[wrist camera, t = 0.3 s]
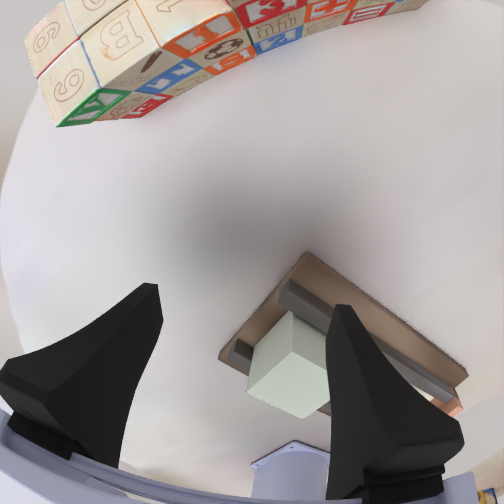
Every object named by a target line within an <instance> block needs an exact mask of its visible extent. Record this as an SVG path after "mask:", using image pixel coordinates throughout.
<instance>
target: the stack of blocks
mask: <svg viewBox="0 0 504 504" xmlns="http://www.w3.org/2000/svg"><path fill="white" fill-rule="evenodd" d="M427 1H428V0H63V1H61V2H60V3H59V4H58V5H56V6H55V7H54V8H53V9H52V10H51V11H50V12H49V13H48V14H47V15H46V16H45V17H44V18H43V19H42V20H41V21H40V22H38V23H37V25H36V26H35V27H34V28H33V29H32V30H31V31H30V32H29V33H28V34H27V36H26V37H25V38H24V41H25V45H26V48H27V52H28V55H29V58H30V62H31V65H32V69H33V72H34V75H35V77H36V78H37V79H38V83H39V86H40V89H41V92H42V95H43V98H44V100H45V103H46V105H47V108H48V111H49V113H50V116H51V118H52V121H53V123H54V126H55V127H65V126H73V125H81V124H89V123H92V122H93V121H105V120H118V119H122V118H123V119H130V118H140V117H142V116H144V115H145V114H147V113H148V112H150V111H151V110H153V109H154V108H156V107H158V106H159V105H161V104H162V103H164V102H166V101H167V100H169V99H171V98H173V96H178V95H180V94H182V93H184V92H185V91H187V90H189V89H191V88H193V87H194V86H196V85H198V84H200V83H202V82H204V81H206V80H208V79H210V78H212V77H213V76H214V75H218V74H220V73H222V72H224V71H226V70H228V69H230V68H233V67H235V66H237V65H239V64H241V63H244V62H246V61H248V60H250V59H253V58H255V57H256V56H257V55H258V54H261V53H264V52H266V51H269V50H271V49H274V48H276V47H279V46H281V45H284V44H287V43H289V42H292V41H295V40H298V39H299V38H301V37H305V36H308V35H311V34H314V33H317V32H320V31H323V30H326V29H330V28H333V27H336V26H339V25H347V24H351V23H355V22H358V21H362V20H366V19H371V18H375V17H379V16H383V15H390V14H396V13H401V12H407V11H413V10H417V9H419V8H420V7H421V6H422V5H423V4H424V3H426V2H427Z"/></svg>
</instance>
